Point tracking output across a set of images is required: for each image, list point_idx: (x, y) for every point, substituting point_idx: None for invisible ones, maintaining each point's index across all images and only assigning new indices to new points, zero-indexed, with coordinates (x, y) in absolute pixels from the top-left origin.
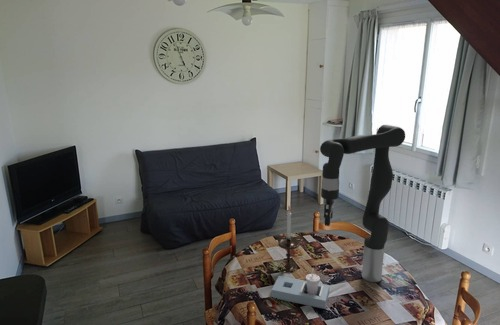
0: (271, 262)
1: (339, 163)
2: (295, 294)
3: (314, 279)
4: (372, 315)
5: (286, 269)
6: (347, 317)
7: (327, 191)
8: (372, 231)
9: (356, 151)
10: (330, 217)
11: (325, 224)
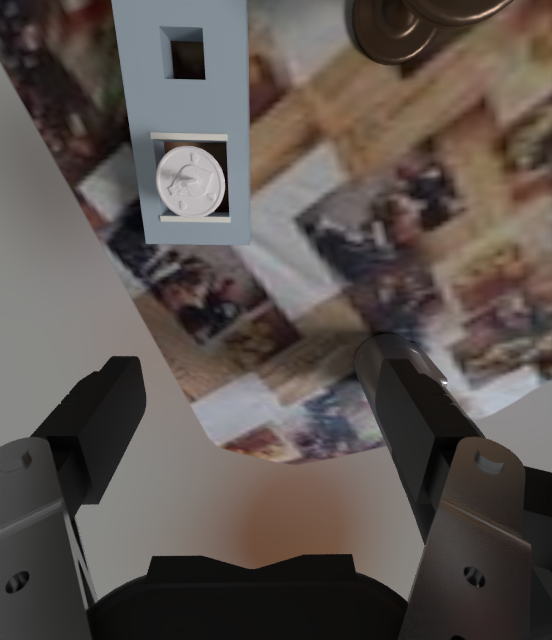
0: None
1: None
2: (128, 112)
3: (172, 194)
4: (189, 364)
5: (371, 3)
6: (148, 304)
7: None
8: (423, 526)
9: None
10: (382, 397)
11: (87, 377)
